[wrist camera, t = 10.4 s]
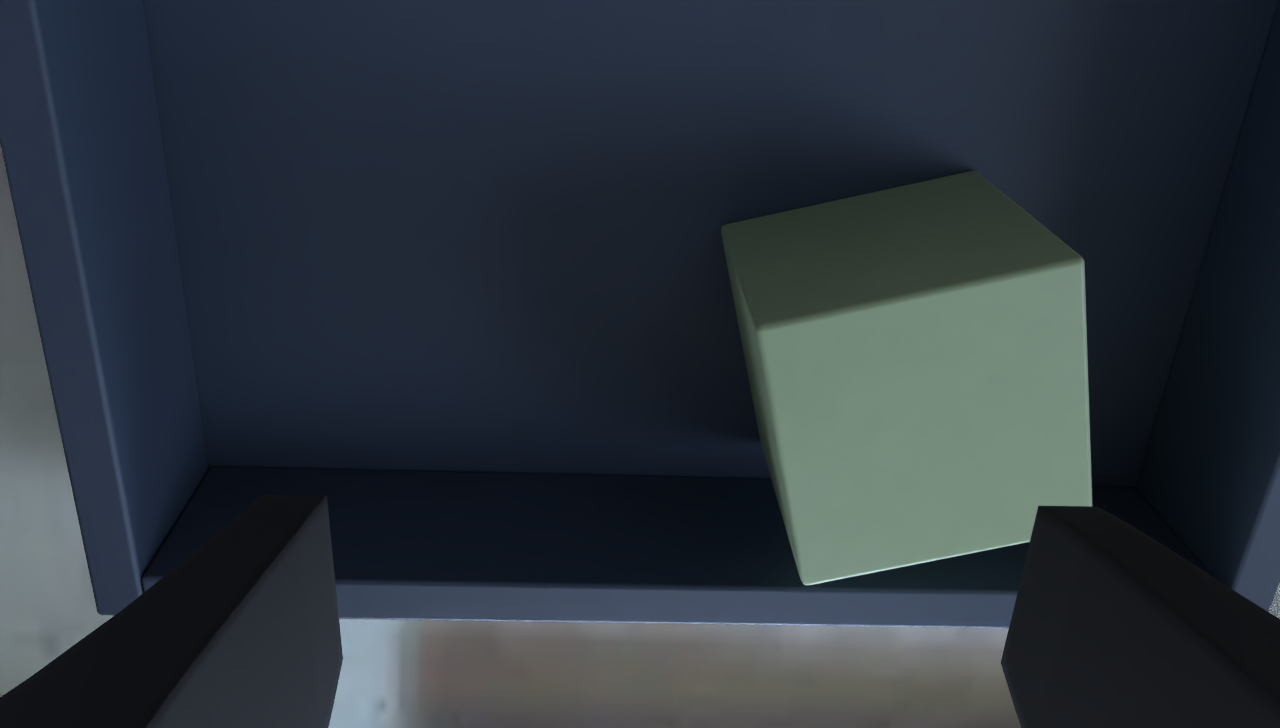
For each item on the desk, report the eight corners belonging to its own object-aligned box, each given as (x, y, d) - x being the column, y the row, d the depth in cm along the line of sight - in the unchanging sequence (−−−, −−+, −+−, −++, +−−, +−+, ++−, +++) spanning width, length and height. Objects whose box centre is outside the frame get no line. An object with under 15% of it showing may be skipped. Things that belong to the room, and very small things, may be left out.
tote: (183, 483, 21) (95, 617, 17) (-1, -711, 13) (-226, -927, 10) (1149, 503, 22) (1262, 634, 18) (1479, -584, 15) (1780, -734, 11)
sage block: (761, 443, 20) (802, 588, 16) (718, 223, 19) (755, 327, 14) (994, 395, 20) (1096, 531, 16) (977, 168, 18) (1087, 257, 14)
